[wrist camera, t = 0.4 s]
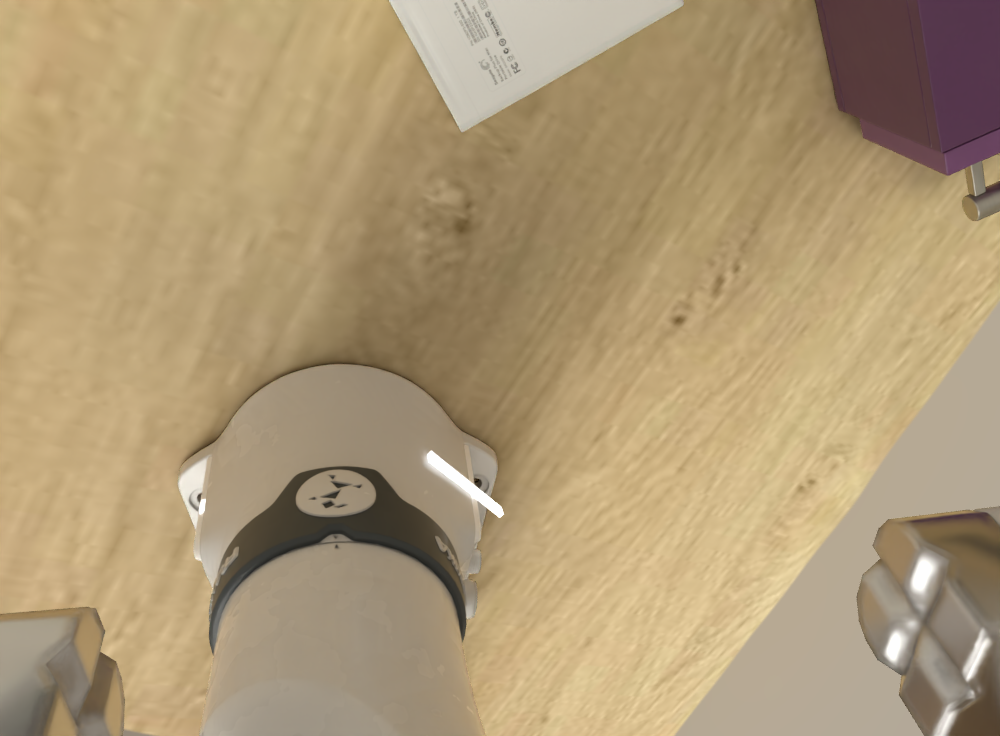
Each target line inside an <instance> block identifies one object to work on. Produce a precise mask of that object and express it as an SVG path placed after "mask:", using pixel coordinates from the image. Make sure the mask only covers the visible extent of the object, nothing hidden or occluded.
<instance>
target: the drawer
mask: <svg viewBox="0 0 1000 736" xmlns="http://www.w3.org/2000/svg"><path fill="white" fill-rule="evenodd" d="M860 124H861V129H862V134H863V138H865V139H867V140H869V141H872V142H874V143H876V144H878V145H880V146H883V147H885V148H887V149H889V150H892V151H894V152H896V153H898V154H900V155H903V156H905V157H907V158H909V159H912V160H914V161H916V162H918V163H920V164H923V165H925V166H927V167H929V168H932V169H934V170H936V171H938V172H940V173H943V174H945V175H951V174H953V173H955V172H958V171H960V170H962V169H964V168H965V172H966V179H967V186H968V192H969V195H967V196H965V197H964V198H963V200H962V206H963V210H964V212H965V214H966V215H967V217H968V218H969V219H970V220H972V221H978V220H981V219H983V218H985V217H987V216H990V215H992V214H994V213H996V212H999V211H1000V181H998V182H996V183H994V184H991V185H989V186H987V187H985V180H984V173H983V165H982V160H985V159H987V158H989V157H991V156H994V155H996V154H998V153H1000V127H999V128H997V129H994V130H992V131H990V132H988V133H985V134H983V135H981V136H979V137H977V138H974V139H972V140H970V141H968V142H965V143H963V144H961V145H959V146H956V147H954V148H952V149H950V150H947V151H945V152H943V153H941V152H938V151H936V150H933V149H932V148H929V147H927V146H925V145H922V144H920V143H917V142H915V141H912V140H910V139H908V138H905V137H903V136H900V135H898V134H896V133H893V132H891V131H888V130H886V129H884V128H881V127H879V126H876V125H874V124H872V123H869V122H867V121H864V120H862V119H860Z"/></svg>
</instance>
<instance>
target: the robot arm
mask: <svg viewBox="0 0 1000 736" xmlns="http://www.w3.org/2000/svg"><path fill="white" fill-rule="evenodd" d="M497 472H498V463H497V456H496V453H495V452H494V451H493V450H492V449H491V448H490V447H489V446H488V445H486V444H485V443H483V442H481V441H480V440H478V439H476V438H474V437H472V436H470V435H468V434H466V433H464V432H462V431H461V430H460V429H459V428H458V427H457V426H456V425H455V424H454V423H453V422H452V421H451V419H450V418H449V417H448V415H447V414H446V413H445V411H444V410H443V409H442V408H441V406H440V405H439V404H438V403H437V402H436V401H435V400H434V399H433V398H432V397H431V396H430V395H429V394H427V393H426V392H425V391H424V390H422V389H421V388H420V387H418V386H417V385H415V384H414V383H412V382H410V381H408V380H407V379H405V378H403V377H401V376H398V375H396V374H393V373H391V372H388V371H385V370H381V369H378V368H374V367H369V366H363V365H353V364H331V365H321V366H315V367H310V368H306V369H302V370H299V371H296V372H293V373H290V374H288V375H285V376H283V377H281V378H279V379H277V380H275V381H273V382H271V383H269V384H268V385H266V386H264V387H263V388H262V389H260V390H259V391H257V392H256V393H255V394H254V395H252V396H251V397H250V398H249V399H248V400H247V401H246V402H245V403H244V404H243V405H242V406H241V407H240V408H239V410H238V411H237V412H236V414H235V415H234V416H233V418H232V419H231V421H230V422H229V424H228V426H227V427H226V429H225V430H224V432H223V433H222V434H221V435H220V437H219V438H218V439H217V440H216V441H215V442H214V443H212V444H210V445H209V446H207V447H205V448H204V449H202V450H200V451H199V452H197V453H196V454H194V455H193V456H191V457H190V458H189V459H188V460H186V461H185V462H184V463H183V464H182V466H181V467H180V470H179V474H178V488H179V491H180V493H181V496H182V498H183V501H184V503H185V506H186V508H187V511H188V513H189V515H190V518H191V520H192V523H193V525H194V528H195V530H196V533H195V540H194V557H195V559H197V560H199V561H202V565H203V568H204V571H205V574H206V576H207V578H208V580H209V582H210V584H211V586H212V588H213V589H212V594H211V600H210V608H209V621H210V627H209V640H210V646H211V649H212V653H213V661H212V666H211V672H210V677H209V683H208V689H207V694H206V700H205V705H204V711H203V716H202V722H201V727H200V733H199V736H486V734H485V731H484V728H483V725H482V722H481V719H480V716H479V713H478V709H477V705H476V702H475V698H474V694H473V690H472V686H471V682H470V678H469V674H468V670H467V665H466V660H465V655H464V650H463V645H462V643H463V640H464V636H465V629H466V619H470V618H473V617H474V615H475V612H476V607H477V585H476V582H475V581H473V580H469V579H468V577H469V573H470V574H474V573H475V574H477V573H479V572H480V568H481V551H480V550H479V549H476V548H477V544H478V542H479V541H480V540H481V530H482V526H483V523H484V519H485V516H486V512H487V508H488V509H489V510H491V511H492V512H493V513H494V514H496V515H497V516H498V517H499V518H500V517H501V516H503V515H504V514H503V510H502V507H501V506H500V505H498V504H497V503H496V502H495V501H494V500H492V499H491V494H492V490H493V487H494V483H495V480H496V476H497ZM474 478H477V479H480V480H479V481H478V482H477V483H474ZM200 493H202V495H200ZM873 547H874V549H875V550H876V552H877V553H878V555H879V556H880V558H881V559H880V560H878V561H877V562H876V563H875V564H874V565H873V566H872V567H871V568H870V569H868V570H867V571H866V572H865V573H864V574H863V576H862V579H861V583H860V586H859V590H858V593H857V606H858V616H859V622H860V625H861V628H862V631H863V634H864V636H865V639H866V641H867V643H868V644H869V646H870V648H871V650H872V651H873V653H874V655H875V656H876V658H877V660H879V661H880V662H882V663H883V664H885V665H886V666H888V667H889V668H891V669H892V670H894V671H895V672H897V673H898V674H900V675H902V676H901V684H900V692H899V696H900V698H901V699H902V701H903V702H904V704H905V706H906V707H907V709H908V710H909V712H910V714H911V715H912V717H913V718H914V720H915V722H916V723H917V725H918V727H919V728H920V730H921V731H922V733H923V735H924V736H1000V506H999V507H991V508H982V509H975V510H973V511H972V510H962V511H954V512H946V513H937V514H930V515H920V516H912V517H905V518H895V519H888V520H887V521H886V522H885V523H884V524H883V525H882V526H881V527H880V528H879V529H878V532H877V534H876V537H875V540H874V543H873ZM104 634H105V630H104V627H103V625H102V622H101V620H100V617H99V615H98V613H97V610H96V608H90V607H79V608H67V609H55V610H43V611H31V612H19V613H8V614H0V736H122V735H123V731H124V706H125V698H124V691H123V684H122V678H121V675H120V672H119V669H118V666H117V663H116V661H114V660H113V659H111V658H109V657H108V656H106V655H105V654H103V653H101V652H100V650H101V646H102V642H103V638H104Z"/></svg>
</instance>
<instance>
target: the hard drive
mask: <svg viewBox="0 0 1000 736" xmlns="http://www.w3.org/2000/svg"><path fill="white" fill-rule="evenodd" d="M389 2H390V4H391V6H392V7H393V9H394V11H395V13H396V15H397V16H398V18H399V20H400V22H401V23H402V25H403V27H404V29H405V31H406V32H407V34H408V36H409V38H410V40H411V41H412V43H413V45H414V47H415V49H416V50H417V52H418V54H419V56H420V58H421V60H422V61H423V63H424V65H425V67H426V69H427V70H428V72H429V74H430V76H431V78H432V80H433V81H434V83H435V85H436V87H437V89H438V91H439V92H440V94H441V96H442V98H443V100H444V101H445V103H446V105H447V107H448V109H449V111H450V112H451V114H452V116H453V118H454V120H455V121H456V123H457V125H458V127H459V129H460V131H461V132H464V131H466V130H468V129H470V128H471V127H473V126H475V125H477V124H478V123H480V122H482V121H483V120H485V119H487V118H489V117H491V116H492V115H494V114H496V113H498V112H499V111H501V110H503V109H505V108H506V107H508V106H510V105H512V104H513V103H515V102H517V101H519V100H521V99H522V98H524V97H526V96H528V95H529V94H531V93H533V92H535V91H536V90H538V89H540V88H542V87H543V86H545V85H547V84H548V83H550V82H552V81H554V80H555V79H557V78H559V77H561V76H562V75H564V74H566V73H568V72H569V71H571V70H573V69H574V68H576V67H578V66H580V65H582V64H583V63H585V62H587V61H588V60H590V59H592V58H594V57H595V56H597V55H599V54H601V53H602V52H604V51H606V50H608V49H609V48H611V47H613V46H615V45H616V44H618V43H620V42H622V41H623V40H625V39H627V38H628V37H630V36H632V35H634V34H635V33H637V32H639V31H641V30H642V29H644V28H646V27H647V26H649V25H651V24H652V23H654V22H656V21H658V20H660V19H661V18H663V17H665V16H667V15H668V14H670V13H672V12H673V11H675V10H677V9H678V8H680V7H682V6H683V5H684V1H683V0H389Z"/></svg>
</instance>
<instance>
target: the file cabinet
mask: <svg viewBox="0 0 1000 736" xmlns="http://www.w3.org/2000/svg"><path fill="white" fill-rule="evenodd" d="M815 2H816V6H817V11H818V16H819V20H820V25H821V30H822V34H823V39H824V44H825V48H826V53H827V58H828V62H829V67H830V72H831V76H832V81H833V86H834V90H835V95H836V100H837V104H838V109H839V110H840V111H843V112H846V113H848V114H850V115H852V116H855V117H857V118H860V119H862V120H864V121H867V122H869V123H872V124H874V125H876V126H879V127H881V128H884V129H886V130H888V131H891V132H893V133H896V134H898V135H900V136H903V137H905V138H908V139H910V140H912V141H915V142H917V143H920V144H922V145H925V146H927V147H929V148H932V149H933V150H936V151H938V152H941V153H943V152H945V151H947V150H950V149H952V148H954V147H956V146H959V145H961V144H963V143H965V142H968V141H970V140H972V139H974V138H977V137H979V136H981V135H983V134H985V133H988V132H990V131H992V130H994V129H997V128H999V127H1000V0H815Z"/></svg>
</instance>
